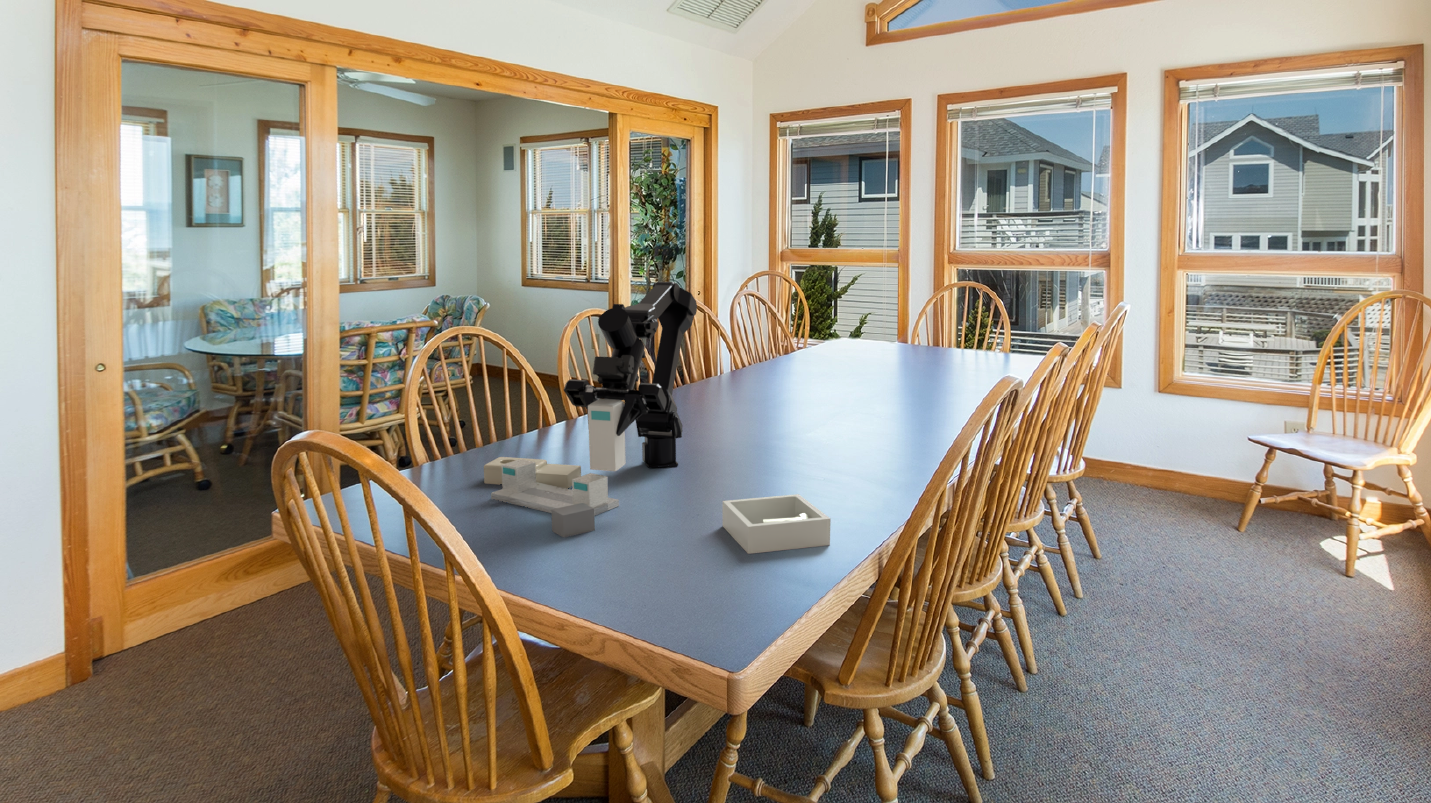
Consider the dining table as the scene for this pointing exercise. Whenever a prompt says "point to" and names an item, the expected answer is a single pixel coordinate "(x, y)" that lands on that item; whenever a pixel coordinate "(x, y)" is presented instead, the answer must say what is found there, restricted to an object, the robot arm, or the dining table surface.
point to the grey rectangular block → (573, 520)
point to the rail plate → (551, 490)
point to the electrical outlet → (544, 472)
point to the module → (606, 435)
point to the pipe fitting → (801, 516)
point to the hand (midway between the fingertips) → (603, 433)
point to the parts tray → (775, 523)
